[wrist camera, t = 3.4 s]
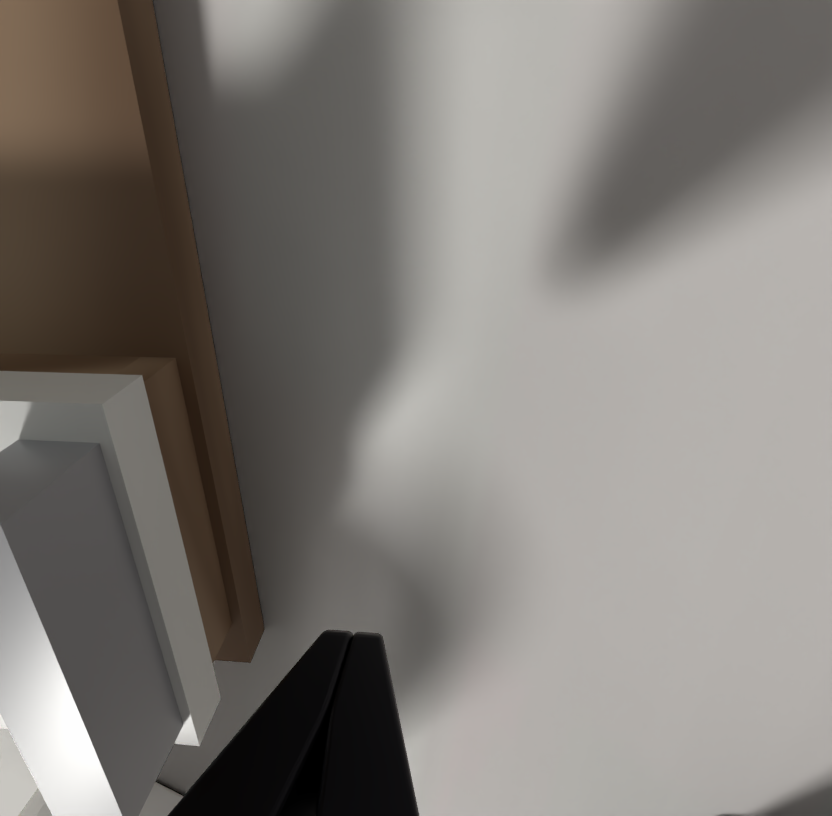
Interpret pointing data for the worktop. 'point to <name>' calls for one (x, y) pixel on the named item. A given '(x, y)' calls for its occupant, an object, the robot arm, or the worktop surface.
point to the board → (118, 265)
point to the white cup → (152, 812)
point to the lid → (94, 594)
